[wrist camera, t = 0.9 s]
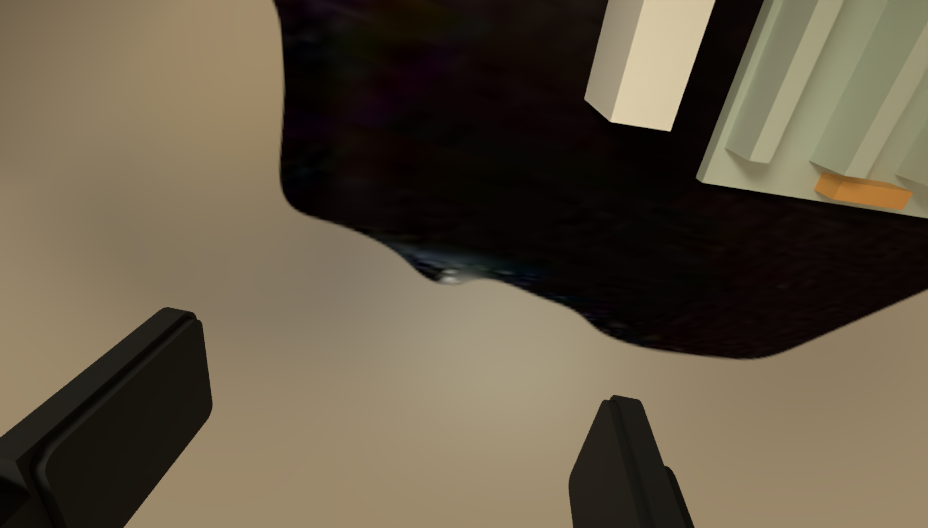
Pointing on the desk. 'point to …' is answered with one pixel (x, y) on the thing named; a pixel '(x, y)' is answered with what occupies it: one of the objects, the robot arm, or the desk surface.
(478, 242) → the desk surface
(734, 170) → the rack
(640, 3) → the panel
